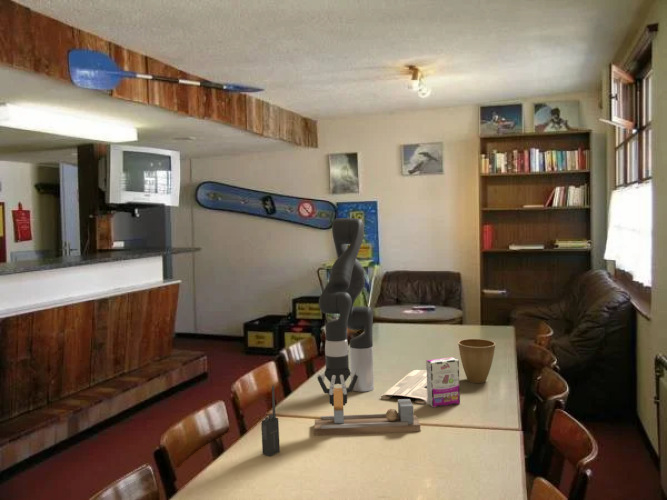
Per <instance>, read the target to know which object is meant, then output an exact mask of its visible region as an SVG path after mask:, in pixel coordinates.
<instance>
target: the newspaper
mask: <svg viewBox="0 0 667 500" xmlns="http://www.w3.org/2000/svg"><path fill="white" fill-rule="evenodd" d="M393 396H400V397H405V398H406V397H407V398H408V397H409V398H413V399H414V398H415V399H416V400H415V401H414V403H418V404H424V405H425V404H427V403H428V399H427V371H426V369H414V370H411V371H410V372H409V373H407V374H406V375H405V376H404V377H402V378H401V379H400V380H399V381H398V382H396V383H395V384H394V385H393V386H391V387H390V388H389V389H388V390H386V391H385V392H384V393H383V394H382V395H380V398H381V399H382V400H384V399H385V400H389V399H391V398H392V397H393Z"/></svg>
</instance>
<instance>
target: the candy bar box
mask: <svg viewBox="0 0 667 500" xmlns="http://www.w3.org/2000/svg"><path fill="white" fill-rule="evenodd" d="M425 364H426V365H425V366H426V367H425V368H426V369H425V370H426V371H427V399H428V401H427V404H428V405H429V406H431V408H438V407H446V406H451V405H452V406H453V405H460V404H461V394H460V393H461V392H460V391H461V389H460V388H461V387H460V366H459V364H460V361H459V359H457V358H456V357H453V356H452V357H451V356H450V357H443V358H435V359H427V360H425Z"/></svg>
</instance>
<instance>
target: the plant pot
mask: <svg viewBox="0 0 667 500" xmlns="http://www.w3.org/2000/svg"><path fill="white" fill-rule="evenodd" d="M457 343H458V344H457V345H458V351H459V356H460V360H461V361H460V362H461V365H462V368H463V372H464V373H465V377H466V380H467V381H468V382H470V383H473V384H481V383H485V382H486V381H487V379H488V377H489V374H490V371H491V369H492V364H493V360H494V355H495V350H496V349H495V348H496V343H495V342H494V341H492V340H489V339H482V338H465V339H461V340H459V341H458V342H457Z"/></svg>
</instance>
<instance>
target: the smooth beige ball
mask: <svg viewBox="0 0 667 500" xmlns="http://www.w3.org/2000/svg"><path fill="white" fill-rule="evenodd" d="M385 414H386V418H387V419H388V420H389V421H395V420H397V418H398V410H397V409H395V408H389V409H387V411H386V412H385Z"/></svg>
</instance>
